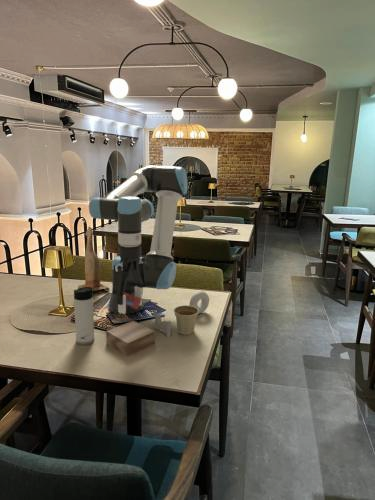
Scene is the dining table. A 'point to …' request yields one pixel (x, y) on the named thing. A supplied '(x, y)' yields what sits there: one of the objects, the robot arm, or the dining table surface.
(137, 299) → the geometric puzzle
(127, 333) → the walnut block
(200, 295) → the donut
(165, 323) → the grey tape dispenser
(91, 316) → the travel mug
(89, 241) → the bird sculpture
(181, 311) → the flower pot
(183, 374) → the dining table surface
